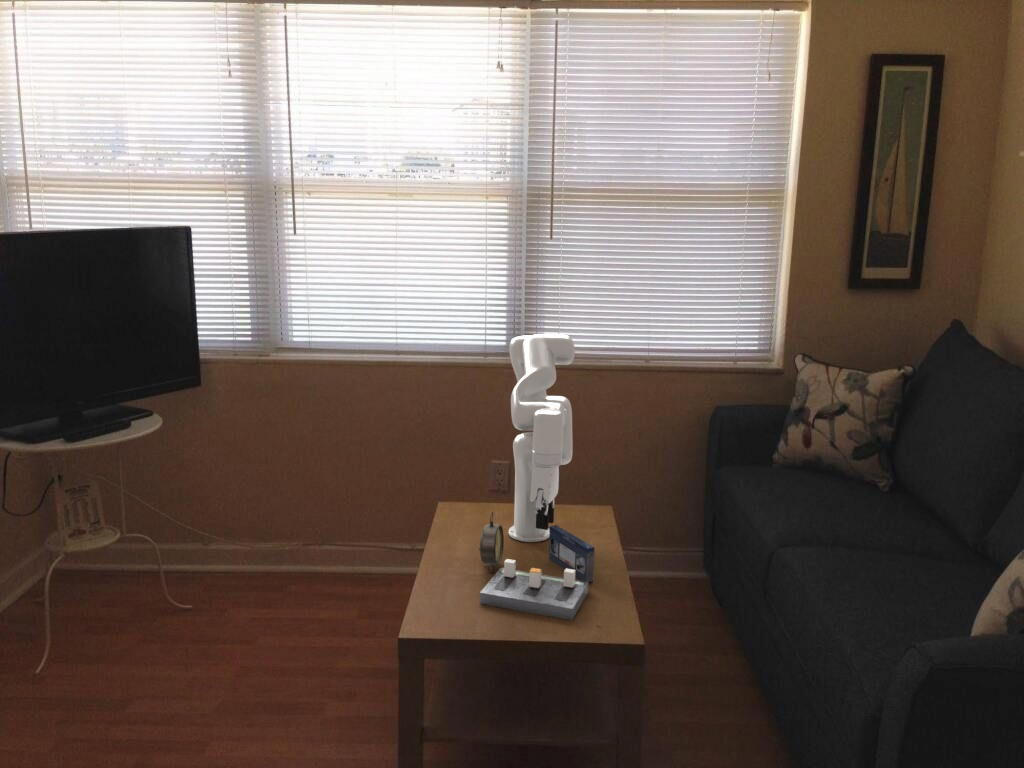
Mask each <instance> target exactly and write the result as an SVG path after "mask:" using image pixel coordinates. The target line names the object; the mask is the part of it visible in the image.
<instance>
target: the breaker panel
mask: <svg viewBox="0 0 1024 768" xmlns="http://www.w3.org/2000/svg"><path fill="white" fill-rule="evenodd" d="M529 578H530V571H523V570H518V569H516V574H515V576H514V577H513V578H512V577H506V576H504V567H499V569H498V571H497V572H495V574H494V575H493V577H492V578H491V579H489V581H488V582H487V584H486V585H485V586H484V587H483V588H482V589H481V590H480V592H479V604H480V605H485V604H487V605H486V606H490V605H493V606H492V607H496V606H497V608H501V607H502V609H507V608H508V609H507V610H512V611H519V612H524V613H525V612H526V613H530V614H536V615H541V616H548V617H553V618H559V619H564V620H570V621H573V619H574V618H575V616H576V614H577V613H578V611H579V609H580V607H581V606H582V604H583V602H584V600H585V599H586V597H587V596H588V594H589V582H585V581H581V580H580V579H579V580H578V579H575V585H574V587H573V588H572V587H566V586H563V582H564V577H560V576H559V577H558V576H554V575H547V574H543V573H541V586H540V587H539V588H535V587H529Z"/></svg>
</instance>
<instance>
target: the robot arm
mask: <svg viewBox="0 0 1024 768" xmlns="http://www.w3.org/2000/svg"><path fill="white" fill-rule="evenodd" d="M508 352H509V357H510V358H509V359H510V362H511V366H512V368H513V372H514V375H515V378H516V381H517V382H516V384H515V385H514V388H513V390H512V392H511V396H510V414H511V422H512V425H513V427H514V428H515V429H517V430H519V431H523V432H522V433H520V434H518V435H516V436H515V438H514V439H513V442H512V450H513V459H514V472H515V473H514V476H515V477H514V507H513V508H514V511H513V512H514V513H513V514H514V515H513V516H514V517H513V525H512V526H510V527H509V528H508V535H509V537H510V538H511V539H514V540H516V541H520V542H524V543H536V542H542V541H543V542H544V541H546V540H547V539H548V540H549V535H550V527H549V524H553V523H555V522H554V521H555V519H554V518H555V498H556V497H557V495H558V493H559V483H560V482H559V481H560V480H559V477H560V471H559V470H560V469H559V468H560V466H561V465H562V466H564V465H568V464H569V463H571V461H572V459H573V453H574V452H573V411H572V404H571V402H570V400H569V399H568V398H567V397H566V396H564V395H563V396H562V395H548V394H547V390H548V389H549V388H551V387H552V386H553V385H554V384H555V383H556V381H557V370H556V365H557V366H559V365H560V366H562V365H563V366H564V365H565V366H568V365H571V364H572V363H573V361H574V359H575V354H576V353H575V352H576V349H575V344H574V341H573V339H572V337H571V336H570V335H568V334H563V333H562V334H560V333H558V334H556V333H553V334H552V333H549V334H548V333H537V334H533V335H532V334H530V335H527V334H526V335H519V336H515V337H513V338H512V339H511V340H510V342H509V351H508ZM525 431H527V432H525Z"/></svg>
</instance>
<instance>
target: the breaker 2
mask: <svg viewBox="0 0 1024 768" xmlns="http://www.w3.org/2000/svg"><path fill="white" fill-rule="evenodd" d="M563 578H564V582H563V586H566V587H572V588H573V587H574V585H575V580H576V577H575V570H573V569H567V568H566V569H564V571H563Z"/></svg>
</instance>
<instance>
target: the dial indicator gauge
mask: <svg viewBox="0 0 1024 768" xmlns="http://www.w3.org/2000/svg"><path fill="white" fill-rule="evenodd" d="M493 520H494V511H493V510H491V512H490V517H489V523H490V524H486V525H484V526H483V528H482V530H481V534H480V541H479V549H478V550H479V555H480V559H481V562H482V563H483V564H482V566H484V565H485V566H486V565H487V566H490V567H489V568H490V569H489V573H490V574H492V573H493V569H494V566H500V564H501V563H502V559H503V554H504V543H505V541H504V536H505V535H504V530H503V526H502V525H501V524H494V521H493Z"/></svg>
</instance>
